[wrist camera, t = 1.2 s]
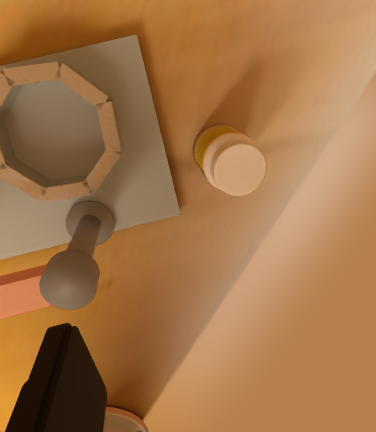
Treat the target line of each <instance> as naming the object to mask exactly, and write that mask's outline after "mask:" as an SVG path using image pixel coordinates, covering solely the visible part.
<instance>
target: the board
mask: <svg viewBox="0 0 376 432" xmlns="http://www.w3.org/2000/svg"><path fill="white" fill-rule="evenodd" d="M50 62H62V63H65V64H70V65H71V66H72V67H74V68H75V69H76V70H78V71H79V72H80V73H82V74H83V75H84V76H86V77H87V78H88V79H90V80H91V81H92V82H94V83H95V84H96V85H98V86H99V87H100V88H102V89H103V90H104V91H106V92H107V93H108V94H110V95H111V97H110V98H109V100H114V103H115V108H116V113H117V118H118V123H119V128H120V133H121V138H122V143H123V147H122V152H121V156H120V157H119V159H118V160H117V161H116V163H115V164H114V166H113V167H112V169H111V170H110V171H109V173H108V174H107V176H106V177H105V178H104V180H103V181H102V183H101V184H100V186H99V187H98V188H97V190H96V191H95V192H93V191H92V193H91V195H86V196H80V197H74V198H67V199H61V200H55V201H48V202H44V199H43V198H42V199H41V200H40V201H39V200H37V199H35V198H33V197H32V196H30V195H28V194H27V193H25V192H23V191H22V190H20V189H18V188H17V187H15V186H13V185H11V184H10V183H8V182H6V181H5V180H3V179H1V178H0V260H2V259H6V258H10V257H14V256H18V255H22V254H26V253H30V252H34V251H38V250H42V249H46V248H50V247H54V246H58V245H62V244H66V243H70V244H69V246H68V248H67V250H78V251H82V252H84V253H86V254H88V255H90V256H91V257H92V256H93V252H94V249H95V245H99V244H102V243H104V242H105V241H107V240H108V239H109V238H110V236H111V235H112V233H113V232H114V231H118V230H122V229H126V228H130V227H134V226H138V225H142V224H146V223H150V222H154V221H158V220H162V219H166V218H170V217H174V216H178V215H181V214H180V209H179V205H178V201H177V197H176V193H175V189H174V185H173V181H172V177H171V173H170V169H169V164H168V160H167V156H166V152H165V148H164V144H163V140H162V136H161V132H160V128H159V123H158V119H157V115H156V111H155V107H154V103H153V99H152V95H151V91H150V87H149V82H148V78H147V74H146V70H145V66H144V62H143V58H142V54H141V50H140V46H139V42H138V37H137V34H136V35H132V36H128V37H123V38H119V39H115V40H110V41H106V42H102V43H97V44H93V45H89V46H84V47H80V48H76V49H71V50H67V51H63V52H58V53H54V54H50V55H45V56H41V57H37V58H32V59H28V60H24V61H19V62H15V63H11V64H6V65H2V66H0V72H4V70H3V69H5V68H12V67H20V66H27V65H35V64H42V63H50ZM109 100H108V101H109ZM4 122H5V125H6V128H7V131H8V134H9V137H10V140H11V143H12V146H13V149H14V152H15V155H16V158H17V159H18V160H20V161H22V162H23V163H25V164H27V165H28V166H30V167H31V168H33V169H35V170H36V171H38V172H39V173H41V174H43V175H44V176H46V177H47V178H49V179H51V180H54V179H60V178H67V177H73V176H80V175H86V174H89V173H90V171H91V170H92V168H93V167H94V165H95V164H96V162H97V161H98V160H99V158H100V157H101V155H102V154H103V152H104V151H105V149H106V148H105V144H104V139H103V135H102V130H101V126H100V121H99V116H98V112H97V108H96V107H95V106H94V105H92V104H91V103H89V102H88V101H87V100H85V99H84V98H83V97H81V96H80V95H78V94H77V93H76V92H74V91H73V90H72V89H70V88H69V87H67V86H66V85H65V84H63V83H62V82H61V81H59V80H58V81H51V82H43V83H36V84H29V85H23V87H22V89H21V90H20V92H19V94H18V95H17V97H16V99H15V101H14V102H13V104H12V106H11V107H10V109H9V111H8V112H7V114H6V116H5V118H4Z"/></svg>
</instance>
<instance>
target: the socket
mask: <svg viewBox="0 0 376 432" xmlns="http://www.w3.org/2000/svg"><path fill="white" fill-rule="evenodd" d="M3 70H4V72H0V178H1V179H3V180H5V181H6V182H8V183H10V184H11V185H13V186H15V187H17V188H18V189H20V190H22V191H23V192H25V193H27V194H28V195H30V196H32V197H33V198H35V199H37V200H39V201H40V200H41V199H42V198H43V199H44V202H48V201H55V200H61V199H67V198H74V197H80V196H86V195H91V193H92V191H93V192H95V191H96V190H97V188H98V187H99V186H100V184H101V183H102V181H103V180H104V178H105V177H106V176H107V174H108V173H109V171H110V170H111V169H112V167H113V166H114V164H115V163H116V161H117V160H118V159H119V157H120V156H121V152H122V147H123V143H122V138H121V133H120V128H119V123H118V118H117V113H116V108H115V103H114V100H109V98H110V97H111V95H110V94H108V93H107V92H106V91H104V90H103V89H102V88H100V87H99V86H98V85H96V84H95V83H94V82H92V81H91V80H90V79H88V78H87V77H86V76H84V75H83V74H82V73H80V72H79V71H78V70H76V69H75V68H74V67H72V66H71V65H70V64H65V63H62V62H50V63H42V64H35V65H27V66H20V67H12V68H5V69H3ZM58 80H59V81H61V82H62V83H63V84H65V85H66V86H67V87H69V88H70V89H72V90H73V91H74V92H76V93H77V94H78V95H80V96H81V97H83V98H84V99H85V100H87V101H88V102H89V103H91V104H92V105H94V106H95V107H96V108H97V112H98V116H99V121H100V126H101V130H102V135H103V139H104V144H105V148H106V149H105V151H104V152H103V154H102V155H101V157H100V158H99V160H98V161H97V162H96V164H95V165H94V167H93V168H92V170H91V171H90V173H89V174H86V175H80V176H73V177H67V178H60V179H54V180H51V179H49V178H47V177H46V176H44V175H43V174H41V173H39V172H38V171H36V170H35V169H33V168H31V167H30V166H28V165H27V164H25V163H23V162H22V161H20V160H18V159H17V158H16V155H15V152H14V149H13V146H12V143H11V140H10V137H9V134H8V131H7V128H6V125H5V122H4V118H5V116H6V114H7V112H8V111H9V109H10V107H11V106H12V104H13V102H14V101H15V99H16V97H17V95H18V94H19V92H20V90H21V89H22V87H23V85H29V84H36V83H43V82H51V81H58ZM108 100H109V101H108Z"/></svg>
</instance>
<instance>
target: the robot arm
mask: <svg viewBox="0 0 376 432" xmlns="http://www.w3.org/2000/svg"><path fill="white" fill-rule="evenodd" d="M106 402H107V392H106V387H105V385H104V383H103V381H102V378H101V376H100V374H99V372H98V370H97V368H96V366H95V363H94V361H93V359H92V357H91V355H90V353H89V351H88V348H87V346H86V344H85V342H84V340H83V338H82V336H81V334H80V331H79V329H78V328H77V327H76V326H73V327H72V326H71V325H70V324H69V323H65V324H61V325H57V326H53V327H49V328H48V329H47V331H46V334H45V336H44V339H43V342H42V344H41V347H40V349H39V352H38V355H37V357H36V360H35V363H34V365H33V368H32V371H31V373H30V376H29V379H28V381H27V382H25V383H24V385H23V387H22V389H21V391H20V394H19V397H18V399H17V402H16V404H15V407H14V410H13V412H12V415H11V417H10V420H9V422H8V425H7V428H6V430H5V432H148V429H147V427H146V425H145V424H144V422H143V421H142V420H141V419H140V418H139V417H137V416H136V415H134V414H133V413H131V412H128V411H126V410H123V409H119V408H114V407H106Z"/></svg>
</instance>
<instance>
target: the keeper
mask: <svg viewBox="0 0 376 432" xmlns="http://www.w3.org/2000/svg"><path fill="white" fill-rule="evenodd" d="M98 280H99V267H98V265H97V263H96V261H95V260H94V259H93V258H92V257H91V256H90V255H88V254H86V253H84V252H82V251H78V250H66V251H62V252H60V253H57V254H56V255H54V256H53V257H52V258H51V259H50V261H49V263H48V264H47V265H43V266H39V267H35V268H31V269H27V270H23V271H19V272H15V273H11V274H7V275H3V276H0V319H2V318H6V317H10V316H14V315H17V314H21V313H25V312H29V311H33V310H37V309H41V308H45V307H49V306H54V307H57V308H60V309H65V310H73V309H78V308H81V307H83V306H85V305H87V304H88V303H89V302H90V301H91V300H92V299H93V297H94V296H95V293H96V289H97V284H98Z"/></svg>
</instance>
